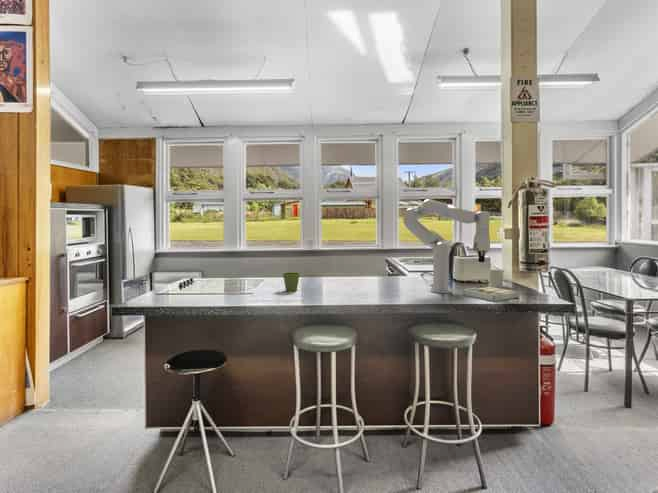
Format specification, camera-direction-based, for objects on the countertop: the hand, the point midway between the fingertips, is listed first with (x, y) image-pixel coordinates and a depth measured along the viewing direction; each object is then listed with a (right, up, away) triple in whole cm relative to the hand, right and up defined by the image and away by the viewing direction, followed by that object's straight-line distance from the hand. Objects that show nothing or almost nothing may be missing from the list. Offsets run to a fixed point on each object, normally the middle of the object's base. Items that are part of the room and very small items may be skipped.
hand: (481, 262), depth 248 cm
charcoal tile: (-5, -17, -2) cm, 18 cm away
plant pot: (-117, -19, +18) cm, 120 cm away
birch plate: (+9, -20, -1) cm, 22 cm away
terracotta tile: (+2, -18, -13) cm, 23 cm away
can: (+21, -18, +30) cm, 41 cm away
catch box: (-1, -21, -6) cm, 22 cm away
